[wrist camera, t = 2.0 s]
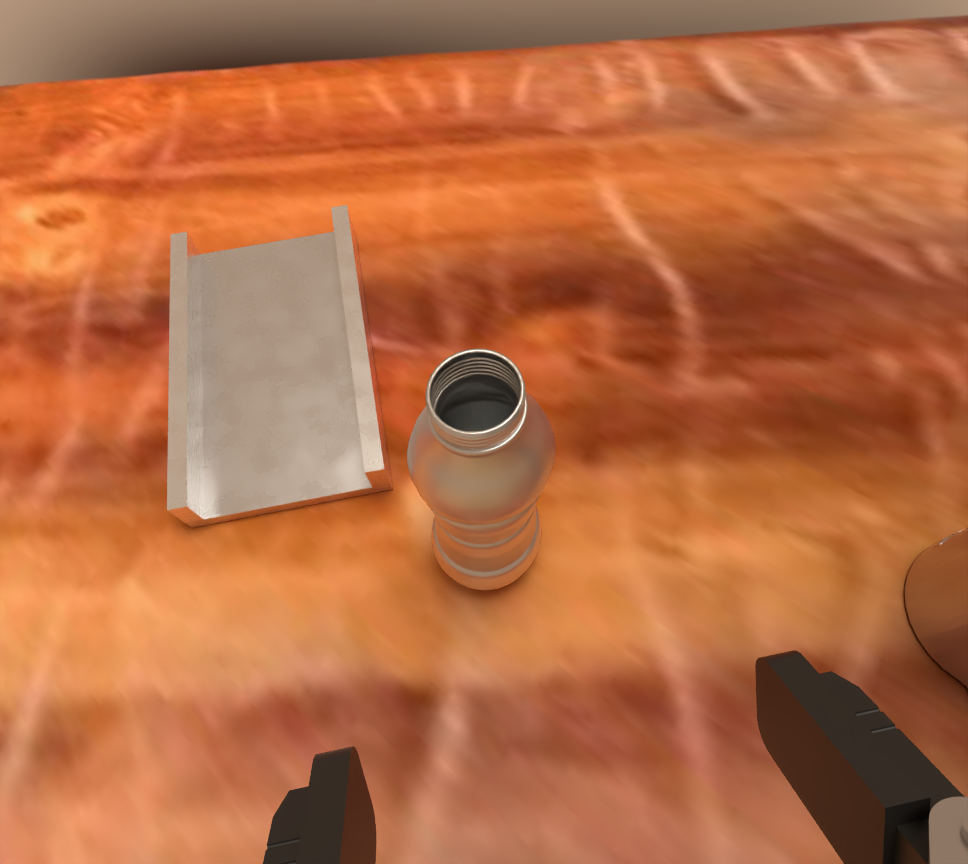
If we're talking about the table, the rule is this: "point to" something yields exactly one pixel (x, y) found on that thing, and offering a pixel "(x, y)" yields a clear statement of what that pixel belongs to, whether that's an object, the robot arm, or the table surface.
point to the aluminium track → (271, 378)
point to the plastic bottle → (482, 467)
